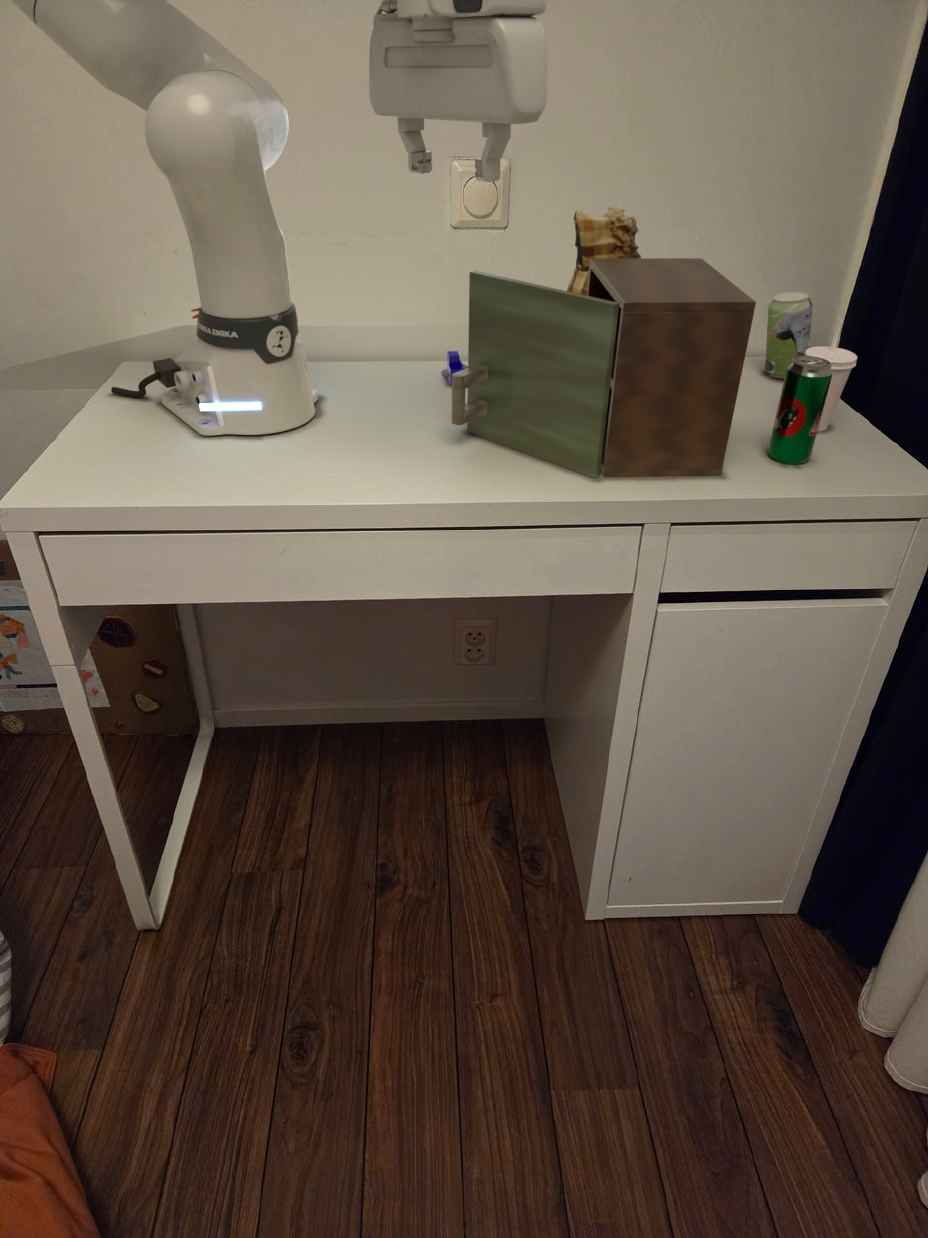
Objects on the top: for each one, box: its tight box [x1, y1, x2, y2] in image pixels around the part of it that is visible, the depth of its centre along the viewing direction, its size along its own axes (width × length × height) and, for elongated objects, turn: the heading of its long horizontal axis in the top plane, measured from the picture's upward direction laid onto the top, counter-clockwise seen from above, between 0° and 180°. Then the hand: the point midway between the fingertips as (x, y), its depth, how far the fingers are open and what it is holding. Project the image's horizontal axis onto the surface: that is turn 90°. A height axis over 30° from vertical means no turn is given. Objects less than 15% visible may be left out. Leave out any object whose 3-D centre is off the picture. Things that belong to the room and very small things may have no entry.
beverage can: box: [764, 291, 813, 380], centre depth 126 cm, size 6×7×12 cm
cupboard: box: [587, 257, 757, 479], centre depth 102 cm, size 14×20×20 cm
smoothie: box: [804, 316, 858, 433], centre depth 109 cm, size 6×6×14 cm
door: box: [451, 270, 619, 479], centre depth 97 cm, size 6×20×20 cm, turn 48°
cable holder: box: [446, 350, 468, 387], centre depth 125 cm, size 8×4×4 cm, turn 99°
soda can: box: [767, 356, 833, 466], centre depth 101 cm, size 5×5×12 cm
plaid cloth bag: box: [566, 206, 642, 296], centre depth 119 cm, size 14×14×25 cm
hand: (452, 176), depth 79 cm, fingers open, 8 cm apart
